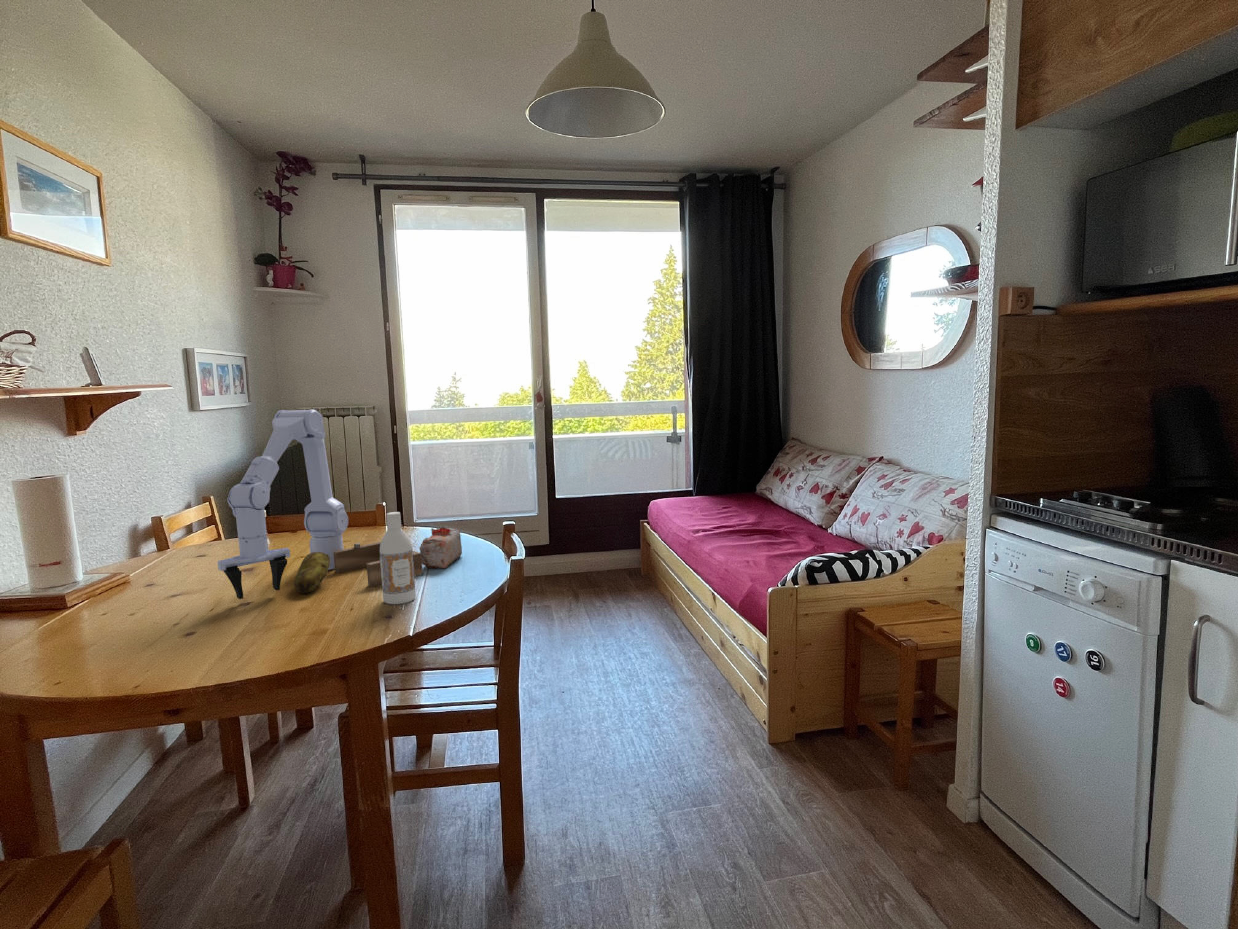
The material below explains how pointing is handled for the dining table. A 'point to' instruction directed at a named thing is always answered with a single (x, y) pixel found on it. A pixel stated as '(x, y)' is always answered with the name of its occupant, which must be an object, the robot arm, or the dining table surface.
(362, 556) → the cradle
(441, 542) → the food item
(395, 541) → the bath foam
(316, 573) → the potato
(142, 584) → the dining table surface
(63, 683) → the dining table surface
